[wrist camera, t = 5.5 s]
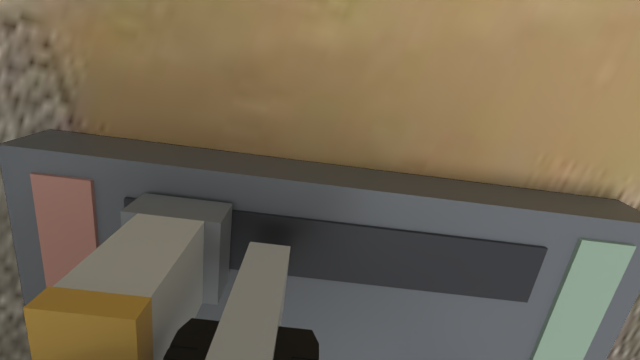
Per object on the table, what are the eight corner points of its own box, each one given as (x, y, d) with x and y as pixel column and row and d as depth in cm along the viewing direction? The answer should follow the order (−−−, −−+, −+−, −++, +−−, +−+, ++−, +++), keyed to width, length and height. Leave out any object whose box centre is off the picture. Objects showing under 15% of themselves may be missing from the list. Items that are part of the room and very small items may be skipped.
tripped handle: (146, 269, 16) (21, 423, 9) (143, 191, 15) (-3, 305, 8) (228, 279, 16) (162, 437, 9) (232, 202, 15) (160, 322, 8)
